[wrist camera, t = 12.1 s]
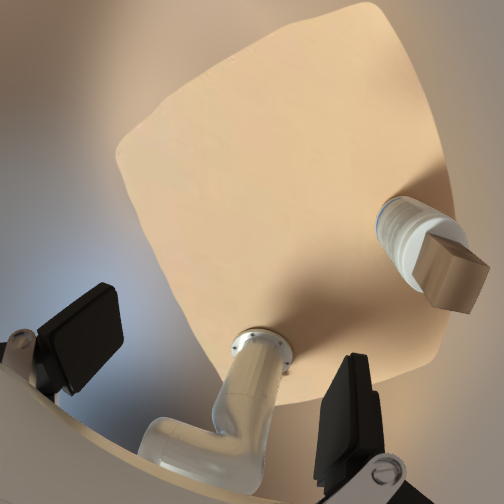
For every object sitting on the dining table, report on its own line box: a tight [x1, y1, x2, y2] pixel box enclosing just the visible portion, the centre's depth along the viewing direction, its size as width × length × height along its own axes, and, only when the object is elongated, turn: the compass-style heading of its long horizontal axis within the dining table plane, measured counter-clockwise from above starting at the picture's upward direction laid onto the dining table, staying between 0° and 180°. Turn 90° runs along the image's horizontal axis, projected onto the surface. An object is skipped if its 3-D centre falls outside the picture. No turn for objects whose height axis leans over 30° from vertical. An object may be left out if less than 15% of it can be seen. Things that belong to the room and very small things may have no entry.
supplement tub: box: [375, 196, 468, 293], centre depth 31 cm, size 10×10×15 cm
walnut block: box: [412, 232, 490, 314], centre depth 22 cm, size 5×5×7 cm
